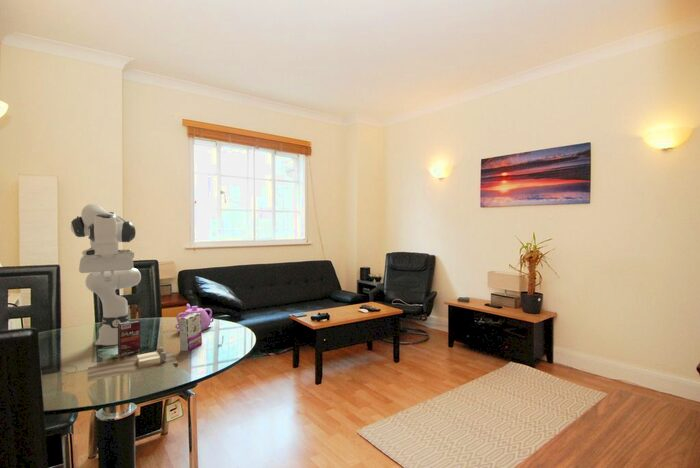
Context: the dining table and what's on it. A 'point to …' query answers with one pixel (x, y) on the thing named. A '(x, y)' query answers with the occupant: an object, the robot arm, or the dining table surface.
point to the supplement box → (128, 337)
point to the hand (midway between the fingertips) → (107, 281)
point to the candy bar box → (190, 331)
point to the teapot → (204, 316)
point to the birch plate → (148, 359)
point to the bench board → (127, 366)
